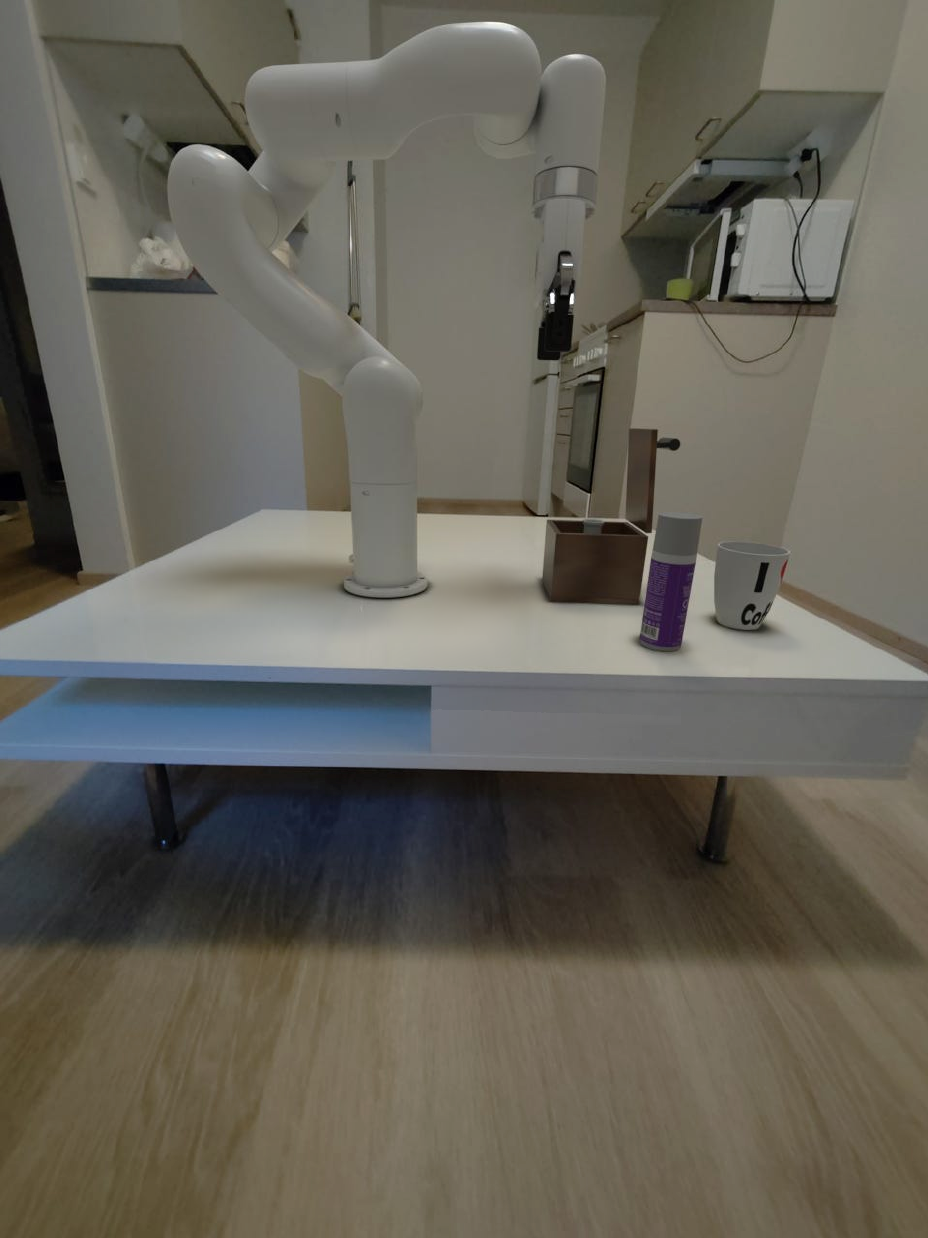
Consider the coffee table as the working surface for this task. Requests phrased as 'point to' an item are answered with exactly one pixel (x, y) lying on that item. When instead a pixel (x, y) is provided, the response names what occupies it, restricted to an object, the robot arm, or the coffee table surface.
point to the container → (670, 580)
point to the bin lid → (643, 474)
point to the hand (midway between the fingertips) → (552, 355)
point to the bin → (593, 562)
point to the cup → (747, 582)
